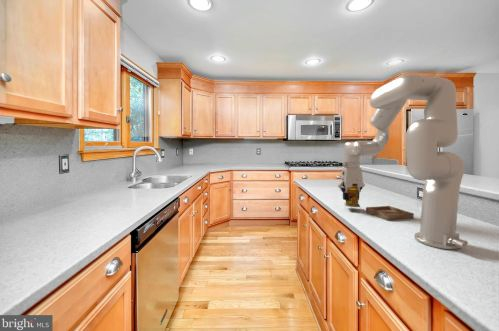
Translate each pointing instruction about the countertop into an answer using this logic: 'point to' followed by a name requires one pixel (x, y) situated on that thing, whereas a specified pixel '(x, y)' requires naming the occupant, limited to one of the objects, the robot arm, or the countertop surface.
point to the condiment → (352, 196)
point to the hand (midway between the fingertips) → (351, 199)
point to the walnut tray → (389, 213)
